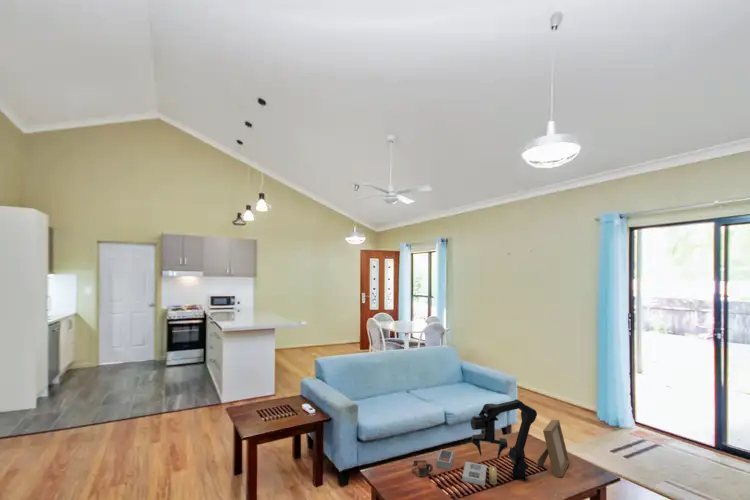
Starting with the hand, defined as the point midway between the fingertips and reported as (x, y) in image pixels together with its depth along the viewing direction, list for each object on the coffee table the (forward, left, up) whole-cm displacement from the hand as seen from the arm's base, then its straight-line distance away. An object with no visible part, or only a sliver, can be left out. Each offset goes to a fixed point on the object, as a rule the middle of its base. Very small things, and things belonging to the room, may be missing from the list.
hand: (489, 456), depth 213 cm
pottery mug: (+36, +7, -13) cm, 39 cm away
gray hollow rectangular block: (+26, -10, -13) cm, 30 cm away
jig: (+8, -2, -13) cm, 15 cm away
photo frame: (-35, -30, -13) cm, 48 cm away
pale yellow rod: (-2, +2, -13) cm, 13 cm away
